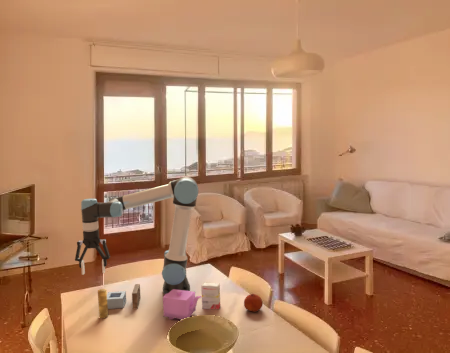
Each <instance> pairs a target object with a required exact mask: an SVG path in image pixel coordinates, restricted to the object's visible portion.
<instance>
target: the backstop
mask: <svg viewBox="0 0 450 353" xmlns="http://www.w3.org/2000/svg"><path fill="white" fill-rule="evenodd" d="M131 301H132V302H131V303H132V309H133V310H134V309H136V310H137V309H138V308H139V305H140V301H141V283H135V284H134V286H133V289H132V292H131Z"/></svg>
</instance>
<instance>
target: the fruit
mask: <svg viewBox="0 0 450 353" xmlns="http://www.w3.org/2000/svg"><path fill="white" fill-rule="evenodd" d="M263 303H264V302H263V300H262V298H261V297H260V296H259V295H258V294H255V293H250V294H249V295H247V296H246V297H245V298H244V300H243V307H244V308H245V309H246V310H247V311H249V312H252V313H253V312H254V313H255V312H258V311H260V310H261V309H262V308H263Z"/></svg>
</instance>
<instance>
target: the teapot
mask: <svg viewBox="0 0 450 353" xmlns="http://www.w3.org/2000/svg"><path fill="white" fill-rule="evenodd" d="M199 299H202V295H196V292H195V291H192V290H190V291H185V290H176V289H173V290H171V291H170V292H169V293H167V294H164V295H163V296H162V304H163V306H162V307H163V317H166V318H168V319H169V320H174V319H179V320H180V321H181V319H184V318H187V317H189V318H190V317H191V316H192V315H193V314H194V313H195V311H197V305H198V304H197V303H198V300H199Z"/></svg>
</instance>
